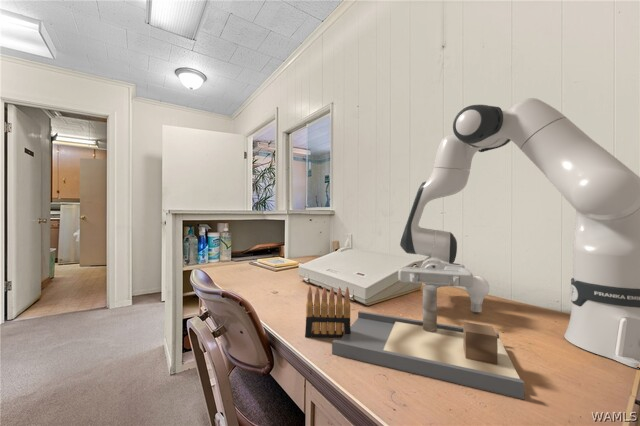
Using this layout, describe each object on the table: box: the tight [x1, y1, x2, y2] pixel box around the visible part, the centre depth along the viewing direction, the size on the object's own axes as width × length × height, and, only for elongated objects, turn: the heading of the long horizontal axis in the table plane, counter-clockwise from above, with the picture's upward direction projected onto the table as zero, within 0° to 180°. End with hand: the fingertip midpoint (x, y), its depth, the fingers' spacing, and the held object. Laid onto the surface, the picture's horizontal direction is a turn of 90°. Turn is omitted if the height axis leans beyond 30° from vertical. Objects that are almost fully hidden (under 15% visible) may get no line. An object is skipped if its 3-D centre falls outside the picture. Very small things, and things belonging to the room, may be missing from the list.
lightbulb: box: [464, 275, 490, 314], centre depth 79 cm, size 6×6×11 cm
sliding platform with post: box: [383, 284, 521, 379], centre depth 55 cm, size 22×16×11 cm
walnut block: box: [462, 321, 498, 365], centre depth 51 cm, size 5×5×5 cm
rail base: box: [331, 310, 525, 400], centre depth 57 cm, size 32×20×2 cm, turn 66°
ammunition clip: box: [304, 286, 351, 339], centre depth 63 cm, size 11×2×12 cm, turn 88°
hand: (433, 281), depth 73 cm, fingers open, 8 cm apart
